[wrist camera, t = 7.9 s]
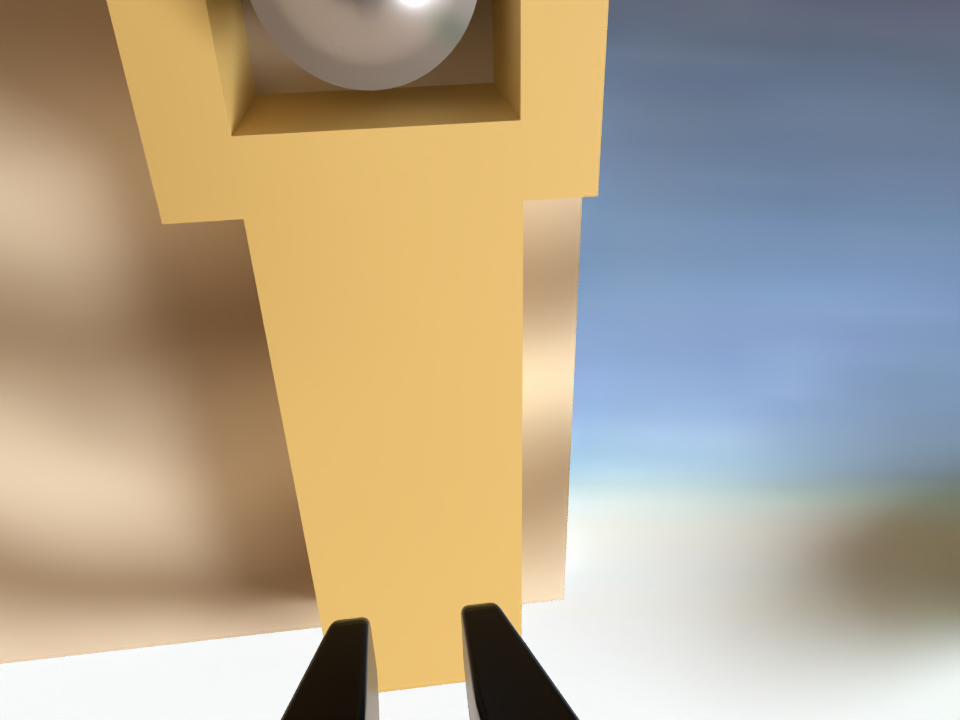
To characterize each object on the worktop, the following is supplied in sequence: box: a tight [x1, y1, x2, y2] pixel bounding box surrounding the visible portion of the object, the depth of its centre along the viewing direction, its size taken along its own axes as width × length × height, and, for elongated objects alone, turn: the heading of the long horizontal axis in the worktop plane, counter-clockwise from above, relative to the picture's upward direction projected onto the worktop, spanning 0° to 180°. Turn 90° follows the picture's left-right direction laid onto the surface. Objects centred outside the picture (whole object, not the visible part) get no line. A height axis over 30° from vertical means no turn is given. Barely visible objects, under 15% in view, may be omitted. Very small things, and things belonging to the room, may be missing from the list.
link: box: [106, 0, 609, 692], centre depth 15 cm, size 19×7×3 cm, turn 2°
